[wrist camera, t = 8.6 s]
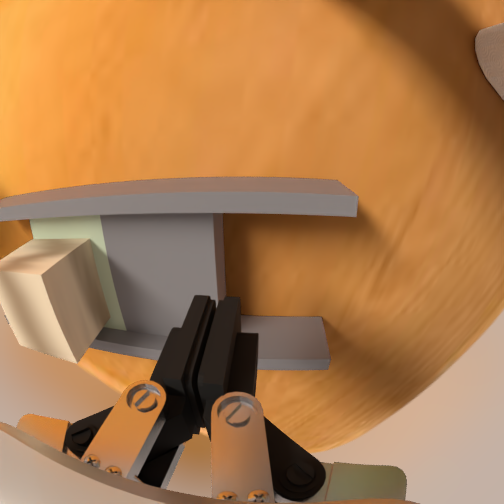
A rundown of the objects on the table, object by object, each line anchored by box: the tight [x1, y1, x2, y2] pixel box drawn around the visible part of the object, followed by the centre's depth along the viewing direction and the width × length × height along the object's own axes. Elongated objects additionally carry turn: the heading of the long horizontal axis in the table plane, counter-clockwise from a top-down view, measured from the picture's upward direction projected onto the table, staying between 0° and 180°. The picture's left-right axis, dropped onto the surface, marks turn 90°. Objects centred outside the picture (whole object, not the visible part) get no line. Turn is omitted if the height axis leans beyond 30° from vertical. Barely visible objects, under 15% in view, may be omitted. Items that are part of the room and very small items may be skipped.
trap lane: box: [0, 177, 358, 370], centre depth 17 cm, size 28×11×4 cm, turn 90°
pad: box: [29, 215, 127, 331], centre depth 18 cm, size 7×9×3 cm
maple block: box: [0, 238, 111, 364], centre depth 15 cm, size 6×6×5 cm
